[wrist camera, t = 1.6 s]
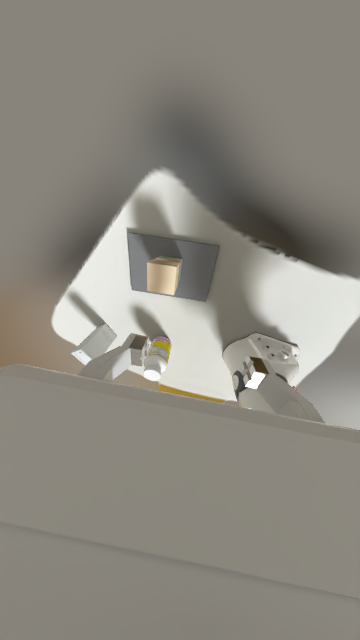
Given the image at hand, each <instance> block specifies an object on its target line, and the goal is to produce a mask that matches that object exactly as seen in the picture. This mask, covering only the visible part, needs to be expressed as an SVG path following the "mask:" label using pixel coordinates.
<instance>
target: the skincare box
mask: <svg viewBox="0 0 360 640" xmlns="http://www.w3.org/2000/svg"><path fill="white" fill-rule="evenodd" d="M116 337H117V336H116V335H115V334H114V332H113V331H112V330H111V329H110V328H109V327H108V326H107V325H106V324H104V325H101V326H99V327H97V328H96V329H95V330H94V331H93V332H92V333H91V334H90V335H89V336H88V337H87V338H86V339H85V340H84V341H83V342H82V343H81V344H80V345H78V346H77V348H75V349H74V350H73V351H72V352H71V354H72V355H74V356H75V357H76V358H77V359H78V360H80V361H81V362H82V363H83V364H84V365H86V364H87V363H88V362H89V361H90V360H92V359H94V358H96V357H99V356H101V355H103V354H104V353H105V352H106V350H107V349H108V348H109V346H110V345H111V344H112V342H113V341H114V340H115V338H116Z"/></svg>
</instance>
